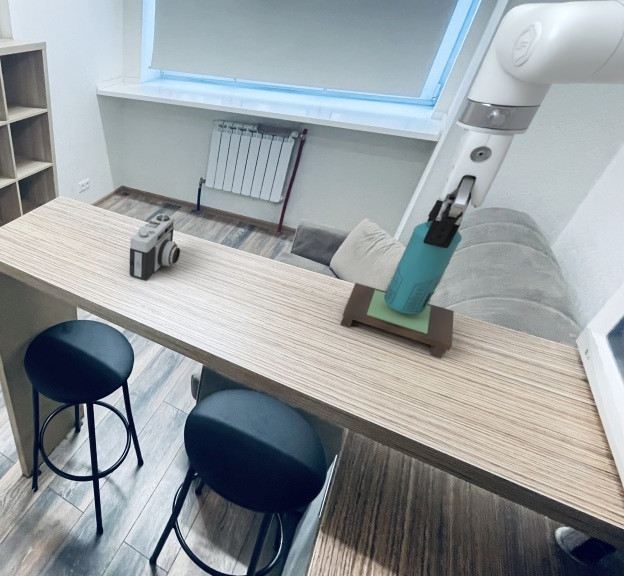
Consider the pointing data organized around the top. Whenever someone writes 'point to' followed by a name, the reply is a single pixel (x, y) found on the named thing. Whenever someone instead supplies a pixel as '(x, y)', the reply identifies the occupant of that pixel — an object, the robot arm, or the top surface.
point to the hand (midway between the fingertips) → (436, 234)
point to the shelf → (400, 319)
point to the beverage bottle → (419, 270)
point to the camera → (153, 247)
